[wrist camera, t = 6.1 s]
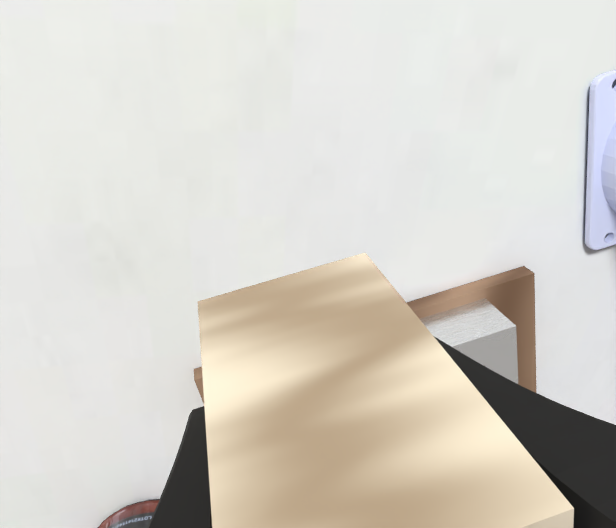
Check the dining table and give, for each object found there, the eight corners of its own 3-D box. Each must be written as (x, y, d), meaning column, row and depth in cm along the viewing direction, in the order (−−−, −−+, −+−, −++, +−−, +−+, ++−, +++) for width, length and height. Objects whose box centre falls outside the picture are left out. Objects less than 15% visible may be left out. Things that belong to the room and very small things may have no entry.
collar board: (523, 266, 25) (570, 298, 22) (528, 446, 30) (566, 492, 27) (194, 369, 23) (195, 419, 20) (261, 540, 28) (271, 600, 25)
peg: (365, 252, 13) (573, 508, 6) (388, 383, 15) (567, 691, 8) (197, 301, 13) (219, 637, 6) (243, 430, 15) (301, 800, 8)
